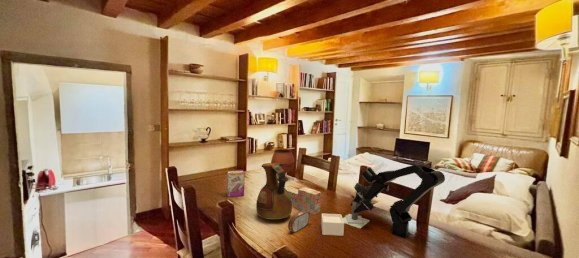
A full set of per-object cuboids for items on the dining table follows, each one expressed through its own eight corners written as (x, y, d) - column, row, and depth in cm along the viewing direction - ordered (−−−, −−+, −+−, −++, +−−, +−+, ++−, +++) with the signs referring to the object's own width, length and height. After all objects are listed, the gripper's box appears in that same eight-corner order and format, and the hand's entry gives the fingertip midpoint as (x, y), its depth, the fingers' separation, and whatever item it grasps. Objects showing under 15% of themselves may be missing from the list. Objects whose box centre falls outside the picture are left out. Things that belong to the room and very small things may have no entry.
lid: (360, 217, 143) (361, 200, 142) (363, 224, 134) (364, 206, 133) (345, 216, 143) (346, 199, 142) (348, 223, 135) (349, 205, 134)
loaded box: (340, 225, 133) (341, 214, 132) (343, 235, 123) (344, 223, 122) (321, 224, 134) (321, 213, 133) (322, 234, 124) (322, 222, 123)
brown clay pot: (268, 182, 203) (268, 151, 201) (273, 176, 222) (274, 147, 220) (292, 184, 200) (292, 152, 198) (295, 177, 219) (296, 148, 217)
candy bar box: (227, 197, 169) (227, 173, 167) (226, 195, 174) (226, 171, 172) (244, 196, 172) (244, 172, 171) (243, 193, 177) (243, 170, 176)
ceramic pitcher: (275, 206, 156) (276, 158, 154) (299, 217, 142) (301, 164, 139) (248, 215, 143) (249, 162, 140) (272, 228, 128) (273, 169, 126)
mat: (369, 220, 140) (369, 220, 140) (360, 228, 130) (360, 228, 130) (349, 214, 147) (349, 213, 147) (339, 221, 138) (339, 220, 138)
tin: (305, 222, 136) (305, 207, 135) (310, 224, 134) (310, 209, 133) (287, 233, 124) (287, 216, 123) (292, 235, 122) (292, 218, 121)
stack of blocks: (286, 205, 159) (286, 185, 158) (292, 202, 164) (293, 183, 163) (314, 215, 145) (314, 194, 144) (320, 212, 150) (321, 191, 149)
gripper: (360, 174, 146) (339, 192, 147) (368, 184, 127) (344, 204, 129) (373, 188, 146) (353, 206, 148) (383, 200, 127) (359, 220, 129)
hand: (352, 208), depth 138 cm, fingers open, 9 cm apart
